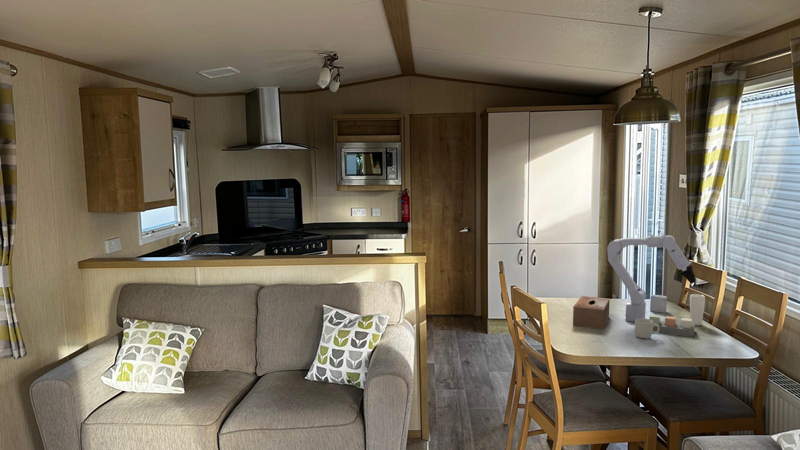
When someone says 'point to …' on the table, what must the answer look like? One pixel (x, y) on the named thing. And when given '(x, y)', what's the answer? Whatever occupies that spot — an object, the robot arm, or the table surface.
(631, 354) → the table surface
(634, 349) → the table surface
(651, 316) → the sage block
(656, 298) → the medicine box
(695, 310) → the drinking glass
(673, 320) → the terracotta block
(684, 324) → the white block
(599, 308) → the tissue box cover
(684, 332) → the grey tray
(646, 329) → the cup
